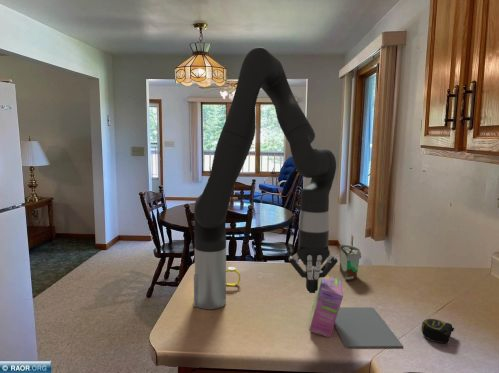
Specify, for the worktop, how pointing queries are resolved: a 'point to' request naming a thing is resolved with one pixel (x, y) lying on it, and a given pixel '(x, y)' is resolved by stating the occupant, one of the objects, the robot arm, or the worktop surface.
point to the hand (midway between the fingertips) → (311, 291)
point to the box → (326, 305)
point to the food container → (349, 262)
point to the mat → (364, 329)
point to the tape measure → (437, 330)
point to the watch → (233, 271)
